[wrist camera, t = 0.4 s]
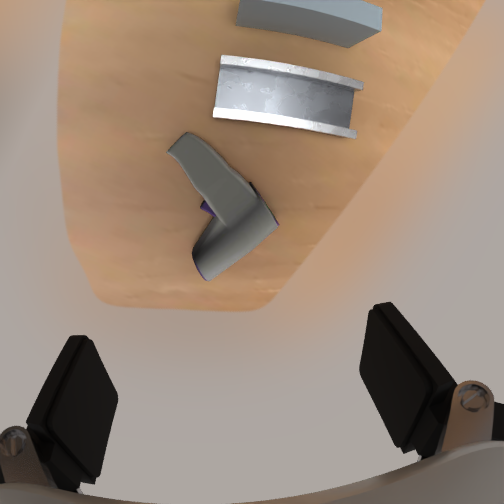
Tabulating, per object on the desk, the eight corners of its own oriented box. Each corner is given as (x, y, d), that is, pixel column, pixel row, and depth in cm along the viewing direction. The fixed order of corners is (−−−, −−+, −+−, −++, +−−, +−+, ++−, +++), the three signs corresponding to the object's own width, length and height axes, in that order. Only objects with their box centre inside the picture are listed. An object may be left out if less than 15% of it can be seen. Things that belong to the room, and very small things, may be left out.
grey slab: (235, 26, 29) (240, -3, 21) (238, 5, 28) (244, -26, 20) (347, 48, 31) (381, 31, 23) (349, 28, 30) (382, 8, 22)
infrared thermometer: (197, 126, 35) (281, 213, 39) (130, 196, 37) (213, 276, 41) (192, 124, 30) (287, 223, 34) (118, 203, 33) (210, 291, 37)
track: (213, 117, 33) (213, 116, 30) (221, 61, 31) (221, 54, 27) (344, 137, 35) (356, 139, 32) (351, 85, 33) (363, 82, 30)
